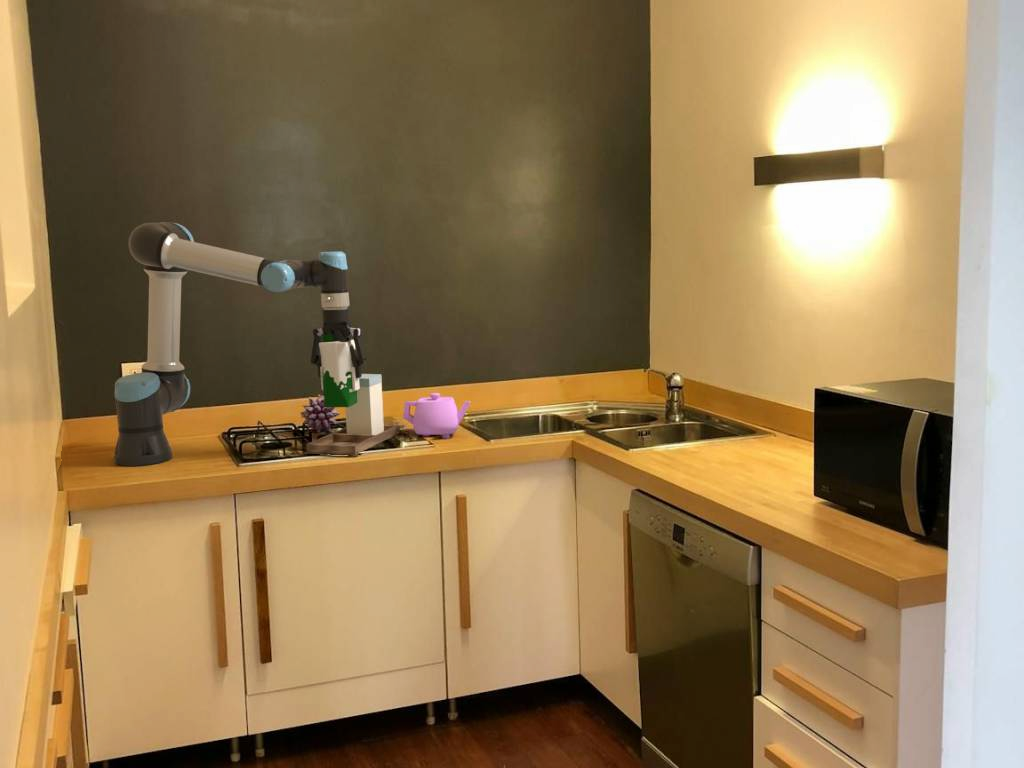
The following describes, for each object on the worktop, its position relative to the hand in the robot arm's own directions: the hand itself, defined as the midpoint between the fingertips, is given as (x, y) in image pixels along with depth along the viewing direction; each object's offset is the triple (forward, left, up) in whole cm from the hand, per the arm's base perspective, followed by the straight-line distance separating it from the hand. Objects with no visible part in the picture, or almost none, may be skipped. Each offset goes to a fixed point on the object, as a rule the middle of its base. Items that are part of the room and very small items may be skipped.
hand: (340, 389), depth 294 cm
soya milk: (0, 0, -5) cm, 5 cm away
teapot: (+19, +23, -18) cm, 35 cm away
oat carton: (0, +14, -16) cm, 22 cm away
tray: (0, +7, -17) cm, 19 cm away
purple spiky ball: (-18, +20, -17) cm, 32 cm away
